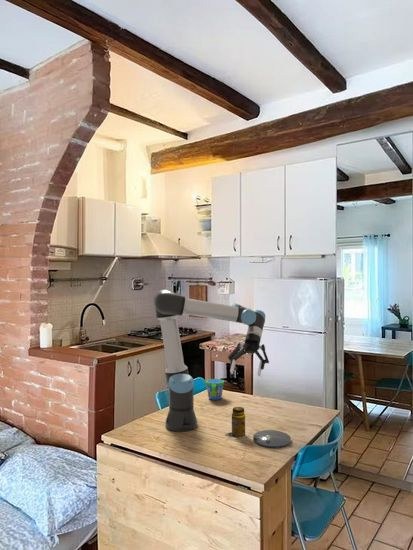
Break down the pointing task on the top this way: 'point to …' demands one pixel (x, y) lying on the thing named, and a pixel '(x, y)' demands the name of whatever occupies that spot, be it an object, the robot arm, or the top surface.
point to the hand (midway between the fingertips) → (244, 373)
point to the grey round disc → (271, 439)
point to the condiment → (237, 424)
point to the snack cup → (214, 388)
